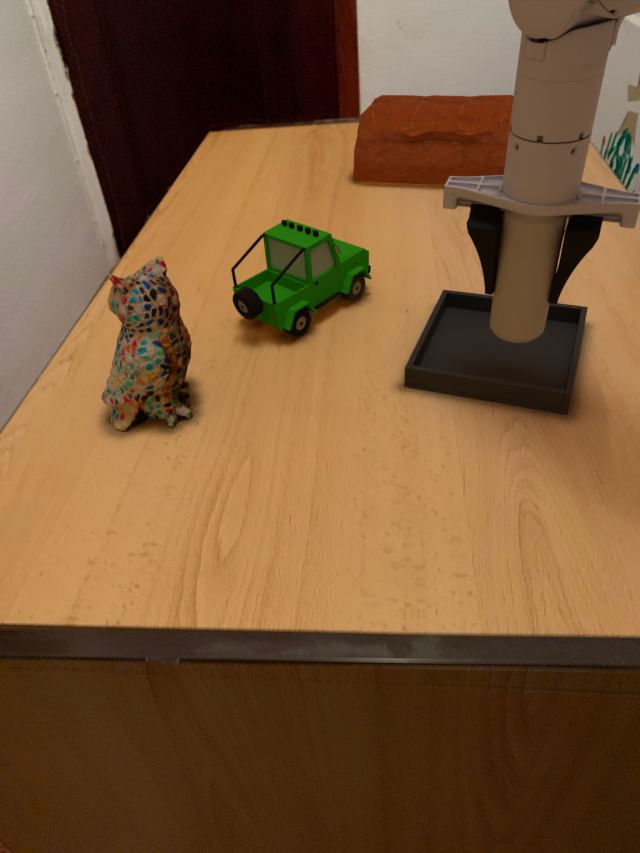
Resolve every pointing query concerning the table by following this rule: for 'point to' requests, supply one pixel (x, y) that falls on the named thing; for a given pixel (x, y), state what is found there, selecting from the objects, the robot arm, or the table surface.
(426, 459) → the table surface
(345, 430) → the table surface
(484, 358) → the tray
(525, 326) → the beverage can
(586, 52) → the robot arm
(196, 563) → the table surface
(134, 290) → the figurine
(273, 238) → the toy car
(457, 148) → the bread
